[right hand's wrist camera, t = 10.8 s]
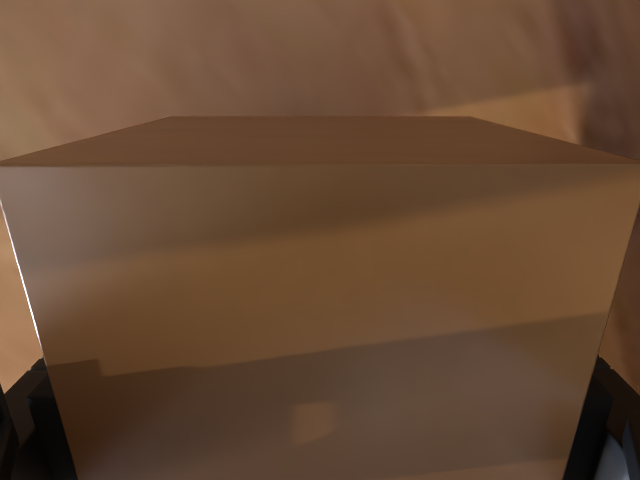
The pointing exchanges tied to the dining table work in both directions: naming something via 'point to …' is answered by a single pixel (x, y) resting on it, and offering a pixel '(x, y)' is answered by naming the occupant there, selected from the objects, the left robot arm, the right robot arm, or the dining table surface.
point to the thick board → (320, 295)
